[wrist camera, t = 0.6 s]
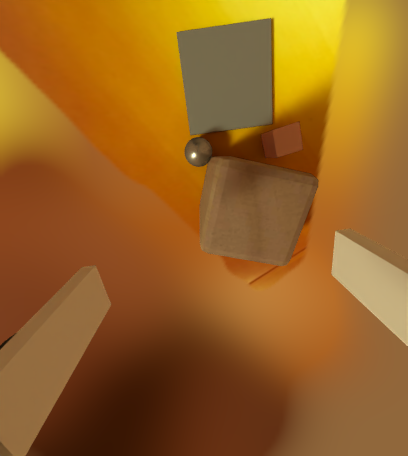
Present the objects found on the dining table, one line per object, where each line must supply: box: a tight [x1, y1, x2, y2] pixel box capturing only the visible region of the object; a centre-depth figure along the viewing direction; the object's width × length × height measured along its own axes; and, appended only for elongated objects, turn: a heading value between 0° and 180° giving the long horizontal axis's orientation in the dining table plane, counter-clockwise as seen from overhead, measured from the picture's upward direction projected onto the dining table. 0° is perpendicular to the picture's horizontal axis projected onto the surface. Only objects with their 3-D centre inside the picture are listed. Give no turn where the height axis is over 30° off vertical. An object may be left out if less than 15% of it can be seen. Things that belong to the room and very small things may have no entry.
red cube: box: [261, 122, 303, 158], centre depth 33 cm, size 4×4×6 cm
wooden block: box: [200, 156, 318, 266], centre depth 29 cm, size 10×10×20 cm
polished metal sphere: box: [185, 137, 212, 167], centre depth 35 cm, size 4×4×4 cm
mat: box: [177, 18, 272, 135], centre depth 33 cm, size 14×14×1 cm
